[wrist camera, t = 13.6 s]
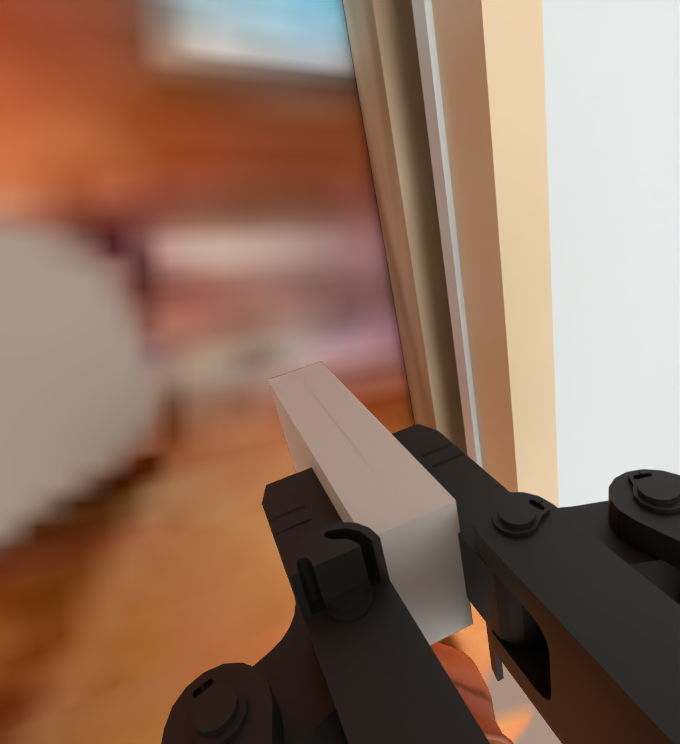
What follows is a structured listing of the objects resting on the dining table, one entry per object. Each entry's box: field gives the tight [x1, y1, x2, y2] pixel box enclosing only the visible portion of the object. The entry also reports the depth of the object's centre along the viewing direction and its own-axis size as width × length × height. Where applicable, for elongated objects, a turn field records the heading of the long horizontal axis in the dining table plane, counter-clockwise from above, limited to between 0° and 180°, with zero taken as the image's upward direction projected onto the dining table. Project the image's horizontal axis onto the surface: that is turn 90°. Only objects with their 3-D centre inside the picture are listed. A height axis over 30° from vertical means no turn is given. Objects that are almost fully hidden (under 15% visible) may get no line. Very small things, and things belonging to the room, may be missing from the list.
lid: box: [412, 0, 680, 508], centre depth 17 cm, size 12×24×3 cm, turn 13°
